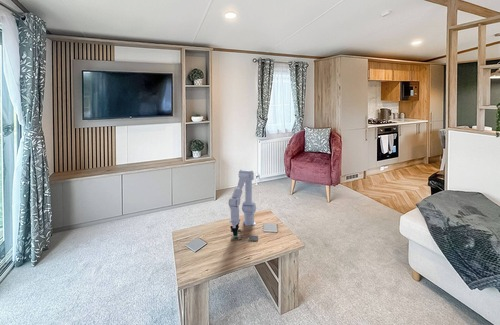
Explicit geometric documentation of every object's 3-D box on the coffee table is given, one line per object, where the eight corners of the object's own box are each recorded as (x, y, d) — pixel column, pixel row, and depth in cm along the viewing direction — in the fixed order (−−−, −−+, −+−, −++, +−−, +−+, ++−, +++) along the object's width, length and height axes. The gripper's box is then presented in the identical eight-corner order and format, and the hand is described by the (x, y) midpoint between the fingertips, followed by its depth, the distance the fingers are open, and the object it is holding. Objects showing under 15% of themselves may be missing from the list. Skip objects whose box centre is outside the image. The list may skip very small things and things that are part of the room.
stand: (231, 236, 186) (231, 228, 184) (241, 236, 185) (241, 228, 184) (230, 240, 181) (230, 231, 179) (240, 240, 180) (240, 231, 179)
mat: (249, 236, 185) (249, 235, 185) (258, 236, 185) (258, 235, 185) (248, 241, 179) (248, 240, 179) (257, 241, 179) (257, 240, 178)
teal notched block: (234, 233, 185) (233, 226, 184) (238, 233, 185) (238, 226, 184) (233, 236, 180) (233, 230, 179) (237, 236, 180) (237, 230, 178)
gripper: (230, 210, 186) (231, 227, 189) (227, 219, 172) (228, 238, 175) (240, 210, 185) (241, 227, 189) (238, 219, 171) (239, 238, 175)
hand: (235, 232), depth 182 cm, fingers open, 7 cm apart
